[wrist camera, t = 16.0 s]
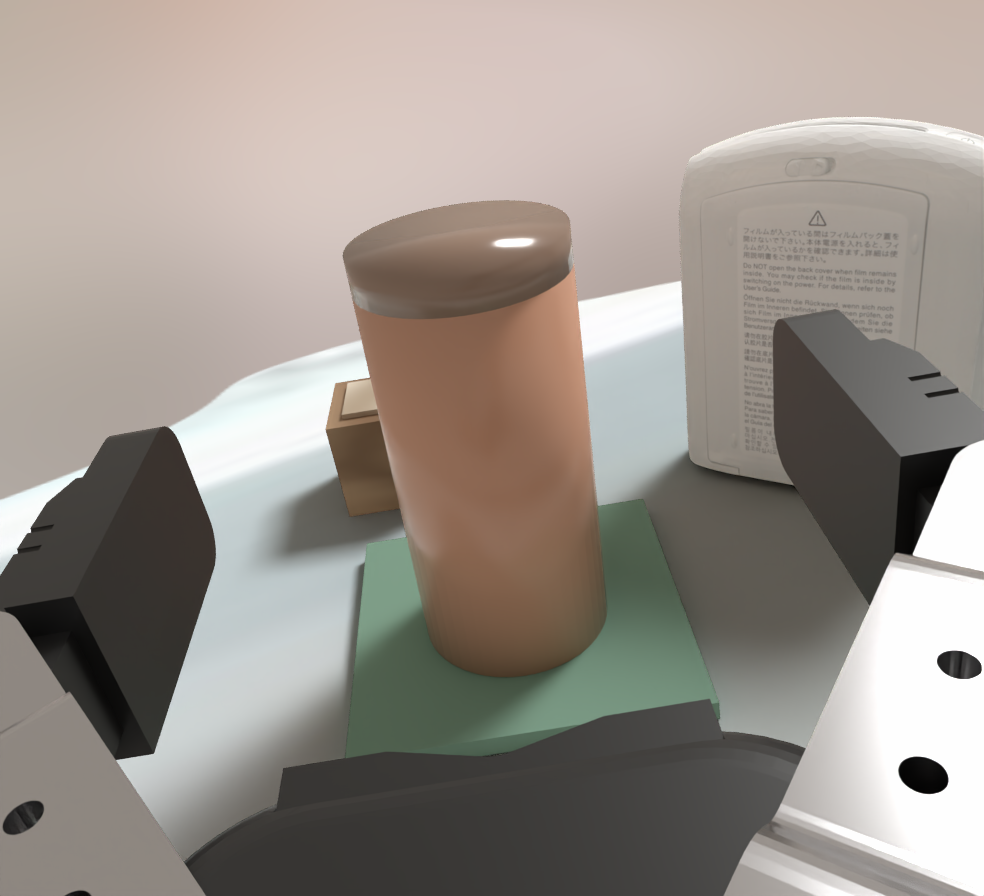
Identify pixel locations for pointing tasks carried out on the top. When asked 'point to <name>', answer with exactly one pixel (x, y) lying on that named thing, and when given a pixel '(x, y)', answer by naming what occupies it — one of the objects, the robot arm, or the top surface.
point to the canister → (486, 427)
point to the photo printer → (824, 262)
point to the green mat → (532, 698)
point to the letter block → (360, 449)
